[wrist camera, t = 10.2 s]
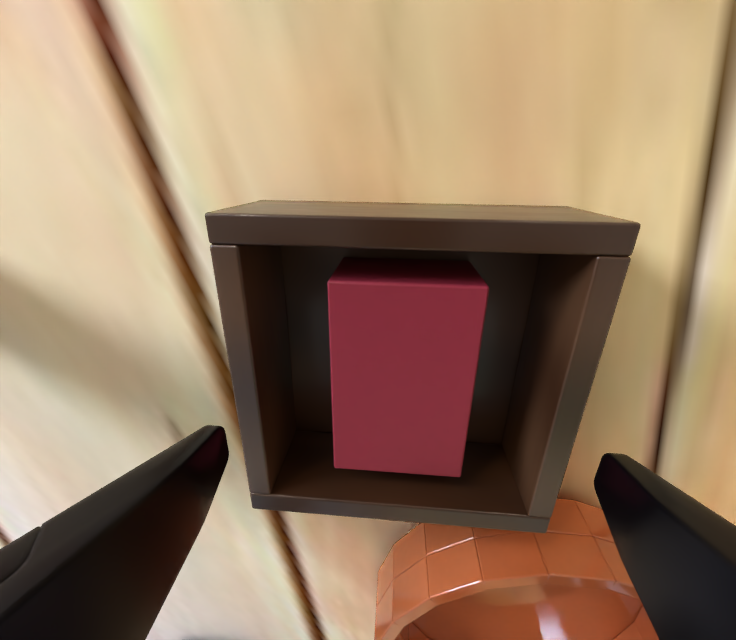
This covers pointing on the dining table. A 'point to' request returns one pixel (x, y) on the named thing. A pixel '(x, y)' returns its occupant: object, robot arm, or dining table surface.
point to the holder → (495, 365)
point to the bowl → (510, 583)
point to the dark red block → (404, 362)
